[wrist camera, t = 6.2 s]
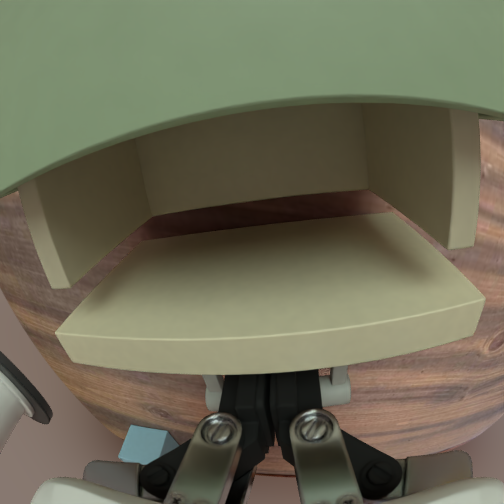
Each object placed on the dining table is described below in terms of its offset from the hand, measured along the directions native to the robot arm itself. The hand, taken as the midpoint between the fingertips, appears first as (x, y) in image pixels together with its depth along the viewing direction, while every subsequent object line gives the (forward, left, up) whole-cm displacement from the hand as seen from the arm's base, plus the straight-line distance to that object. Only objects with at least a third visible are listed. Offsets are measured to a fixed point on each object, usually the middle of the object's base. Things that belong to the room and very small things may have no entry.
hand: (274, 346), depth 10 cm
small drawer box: (0, +15, -4) cm, 16 cm away
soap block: (-14, -18, -4) cm, 23 cm away
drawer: (0, +7, -3) cm, 7 cm away
